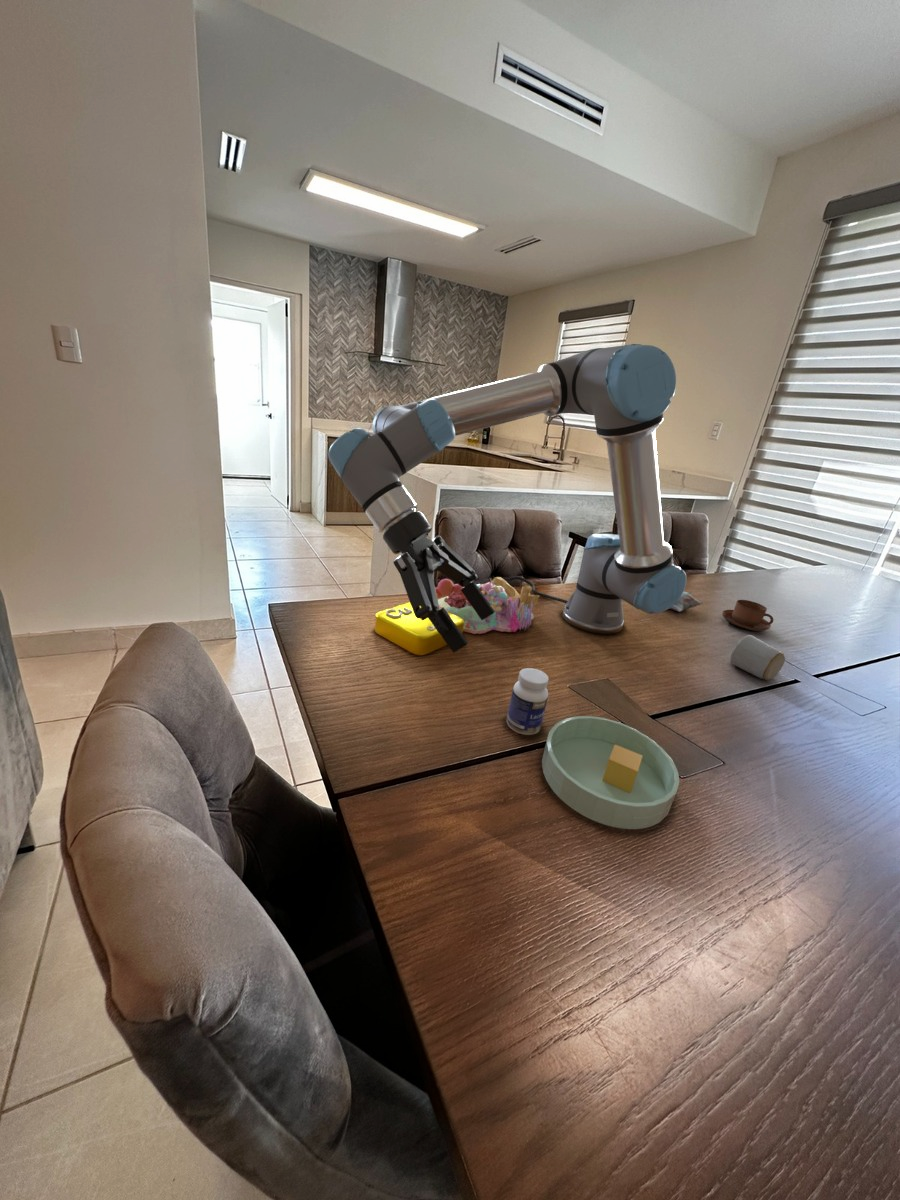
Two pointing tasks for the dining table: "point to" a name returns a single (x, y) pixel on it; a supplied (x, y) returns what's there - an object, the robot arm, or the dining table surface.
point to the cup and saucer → (748, 616)
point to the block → (622, 768)
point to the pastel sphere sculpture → (503, 600)
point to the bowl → (580, 768)
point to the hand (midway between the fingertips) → (475, 631)
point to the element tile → (411, 629)
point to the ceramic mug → (757, 658)
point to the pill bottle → (528, 701)
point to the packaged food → (685, 602)
